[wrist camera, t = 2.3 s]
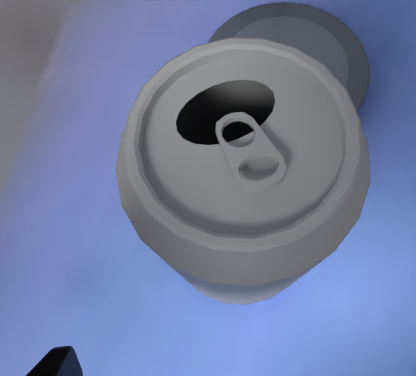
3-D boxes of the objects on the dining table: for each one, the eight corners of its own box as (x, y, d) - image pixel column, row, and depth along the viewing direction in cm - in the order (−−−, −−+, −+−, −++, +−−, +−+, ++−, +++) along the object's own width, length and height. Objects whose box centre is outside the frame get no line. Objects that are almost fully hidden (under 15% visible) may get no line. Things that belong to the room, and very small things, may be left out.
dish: (398, 74, 24) (405, 62, 23) (288, 184, 22) (290, 177, 21) (276, -10, 27) (277, -23, 26) (169, 81, 25) (166, 71, 24)
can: (270, 151, 23) (304, -22, 11) (334, 270, 20) (458, 199, 9) (151, 200, 22) (63, 71, 11) (201, 329, 20) (153, 334, 8)
